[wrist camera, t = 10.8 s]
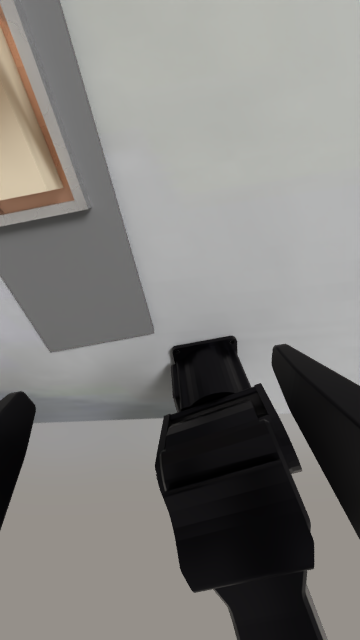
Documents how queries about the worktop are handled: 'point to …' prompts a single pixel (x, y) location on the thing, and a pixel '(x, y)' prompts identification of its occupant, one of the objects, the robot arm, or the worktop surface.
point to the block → (21, 137)
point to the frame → (7, 12)
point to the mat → (74, 224)
